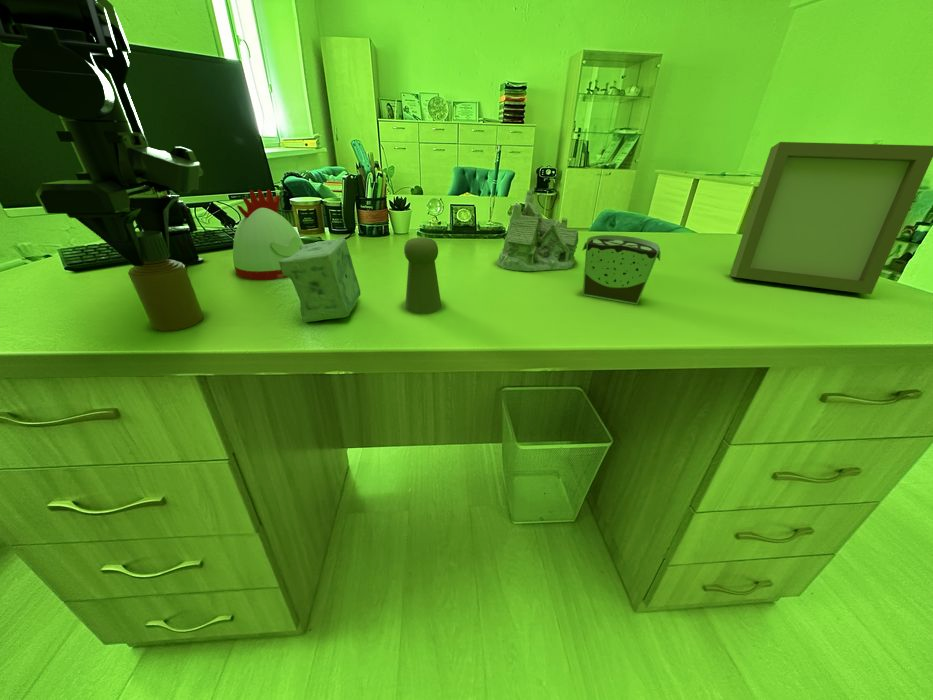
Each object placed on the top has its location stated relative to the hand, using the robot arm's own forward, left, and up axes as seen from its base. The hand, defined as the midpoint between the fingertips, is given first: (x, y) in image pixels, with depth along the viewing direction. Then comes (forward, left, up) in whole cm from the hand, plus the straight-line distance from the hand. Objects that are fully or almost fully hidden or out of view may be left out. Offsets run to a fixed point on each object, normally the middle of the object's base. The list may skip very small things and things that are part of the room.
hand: (152, 258), depth 49 cm
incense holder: (-15, +15, -10) cm, 23 cm away
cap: (0, 0, 0) cm, 0 cm away
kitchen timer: (-23, -11, -10) cm, 27 cm away
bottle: (0, 0, -10) cm, 10 cm away
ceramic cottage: (-59, +32, -10) cm, 68 cm away
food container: (-49, +51, -10) cm, 71 cm away
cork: (-25, +26, -10) cm, 37 cm away
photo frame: (-80, +80, -10) cm, 114 cm away
